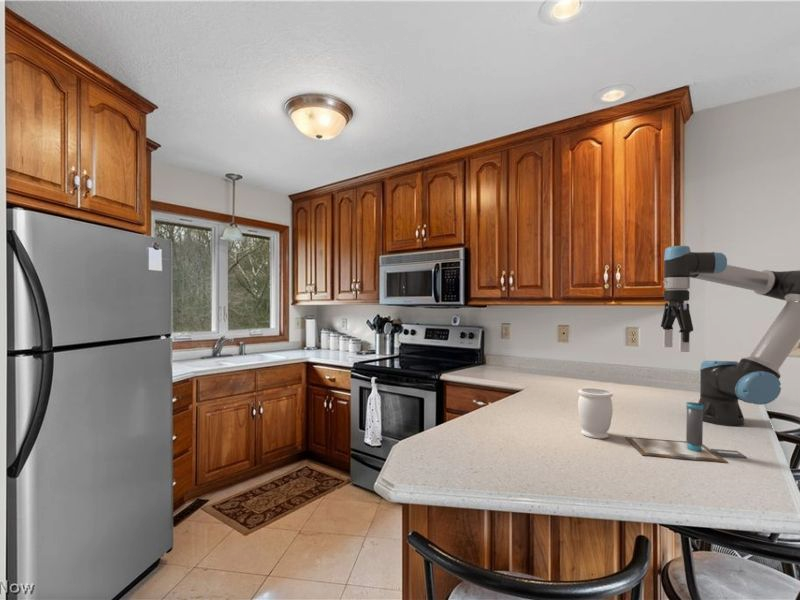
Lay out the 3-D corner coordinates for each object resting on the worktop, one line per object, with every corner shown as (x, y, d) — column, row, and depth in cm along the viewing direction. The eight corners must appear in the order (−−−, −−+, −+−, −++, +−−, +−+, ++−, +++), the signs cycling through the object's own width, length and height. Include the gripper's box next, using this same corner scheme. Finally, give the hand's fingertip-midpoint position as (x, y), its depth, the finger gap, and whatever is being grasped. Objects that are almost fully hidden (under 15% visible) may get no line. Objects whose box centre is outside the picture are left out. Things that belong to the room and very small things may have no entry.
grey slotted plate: (737, 452, 126) (737, 450, 126) (746, 458, 121) (746, 456, 121) (710, 450, 127) (710, 448, 127) (719, 456, 122) (719, 454, 122)
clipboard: (700, 443, 133) (700, 441, 133) (728, 463, 117) (728, 460, 117) (625, 437, 138) (625, 435, 138) (642, 455, 122) (642, 453, 122)
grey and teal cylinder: (698, 447, 128) (699, 402, 127) (705, 452, 123) (706, 406, 123) (683, 446, 128) (683, 401, 128) (689, 451, 124) (690, 405, 124)
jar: (576, 436, 138) (577, 392, 138) (578, 428, 147) (579, 386, 147) (612, 442, 133) (612, 396, 133) (612, 433, 142) (612, 390, 142)
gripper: (651, 290, 159) (651, 345, 160) (680, 288, 135) (679, 353, 135) (673, 290, 158) (672, 345, 158) (706, 289, 133) (705, 354, 134)
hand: (675, 349), depth 147 cm, fingers open, 13 cm apart
